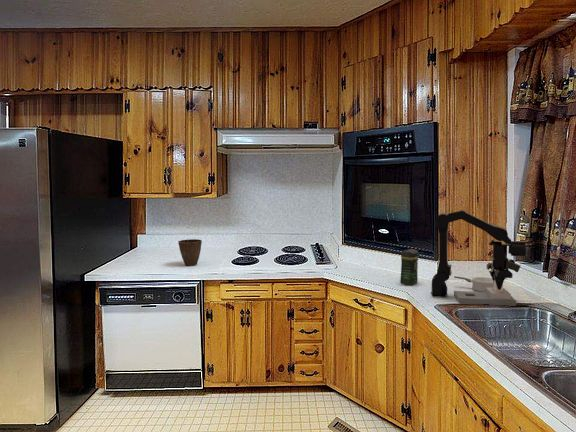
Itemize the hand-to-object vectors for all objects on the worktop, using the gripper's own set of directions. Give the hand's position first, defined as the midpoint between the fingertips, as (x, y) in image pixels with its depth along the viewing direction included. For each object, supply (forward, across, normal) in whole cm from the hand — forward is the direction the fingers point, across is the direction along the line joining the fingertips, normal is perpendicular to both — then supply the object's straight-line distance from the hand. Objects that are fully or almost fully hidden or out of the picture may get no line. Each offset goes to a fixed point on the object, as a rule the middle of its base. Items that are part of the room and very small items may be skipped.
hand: (498, 288), depth 194 cm
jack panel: (+6, 0, +6) cm, 8 cm away
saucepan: (+6, +20, +5) cm, 22 cm away
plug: (+4, 0, 0) cm, 4 cm away
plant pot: (+6, +51, +173) cm, 180 cm away
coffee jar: (+6, +26, +37) cm, 46 cm away
